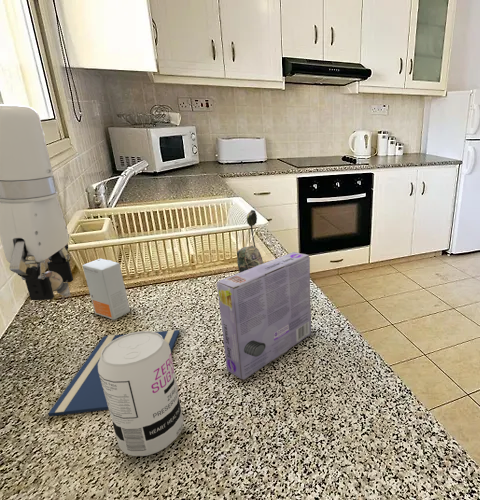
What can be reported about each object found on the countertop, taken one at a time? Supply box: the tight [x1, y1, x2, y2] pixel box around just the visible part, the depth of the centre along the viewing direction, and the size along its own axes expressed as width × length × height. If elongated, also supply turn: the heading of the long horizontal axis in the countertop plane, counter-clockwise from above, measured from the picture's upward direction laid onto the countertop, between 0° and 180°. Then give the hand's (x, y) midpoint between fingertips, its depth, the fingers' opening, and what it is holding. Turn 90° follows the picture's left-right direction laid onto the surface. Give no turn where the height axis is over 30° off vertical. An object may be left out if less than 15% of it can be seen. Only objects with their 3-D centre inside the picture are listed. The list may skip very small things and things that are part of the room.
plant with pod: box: [236, 209, 264, 273], centre depth 91 cm, size 8×11×20 cm
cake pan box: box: [216, 251, 312, 382], centre depth 68 cm, size 19×5×18 cm, turn 145°
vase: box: [30, 265, 72, 301], centre depth 64 cm, size 5×5×6 cm
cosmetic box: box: [82, 258, 131, 321], centre depth 80 cm, size 6×4×12 cm
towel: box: [47, 329, 180, 417], centre depth 66 cm, size 14×20×1 cm
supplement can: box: [98, 330, 184, 457], centre depth 50 cm, size 8×8×15 cm
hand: (53, 289), depth 65 cm, fingers closed on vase, 5 cm apart
